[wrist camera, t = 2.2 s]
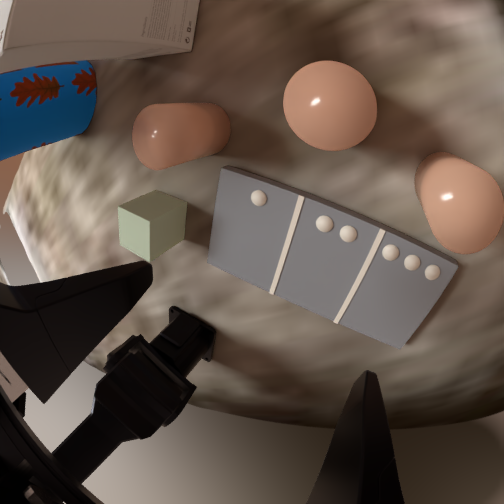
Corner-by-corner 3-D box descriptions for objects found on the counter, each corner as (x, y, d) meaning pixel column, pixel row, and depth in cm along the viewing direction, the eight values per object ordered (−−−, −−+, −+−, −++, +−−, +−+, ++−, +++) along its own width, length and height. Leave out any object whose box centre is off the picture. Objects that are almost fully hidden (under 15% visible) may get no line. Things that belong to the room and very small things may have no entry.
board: (400, 341, 21) (400, 350, 20) (212, 257, 26) (206, 263, 25) (456, 259, 16) (458, 267, 15) (227, 165, 21) (220, 168, 20)
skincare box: (205, -9, 14) (33, -52, 2) (193, 57, 18) (2, 53, 5) (136, 8, 17) (-7, 2, 5) (127, 64, 20) (-22, 81, 8)
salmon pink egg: (366, 152, 16) (361, 164, 11) (305, 130, 17) (274, 134, 13) (384, 91, 14) (387, 77, 9) (320, 72, 15) (293, 52, 10)
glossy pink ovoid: (225, 160, 21) (176, 177, 16) (182, 148, 22) (130, 162, 18) (235, 107, 19) (184, 107, 14) (189, 99, 20) (135, 101, 15)
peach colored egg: (456, 225, 15) (479, 267, 10) (405, 199, 16) (413, 232, 12) (480, 170, 13) (516, 192, 8) (426, 140, 14) (447, 149, 9)
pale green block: (184, 239, 27) (149, 262, 23) (154, 225, 28) (120, 244, 24) (187, 202, 25) (149, 221, 21) (156, 189, 26) (118, 206, 22)
